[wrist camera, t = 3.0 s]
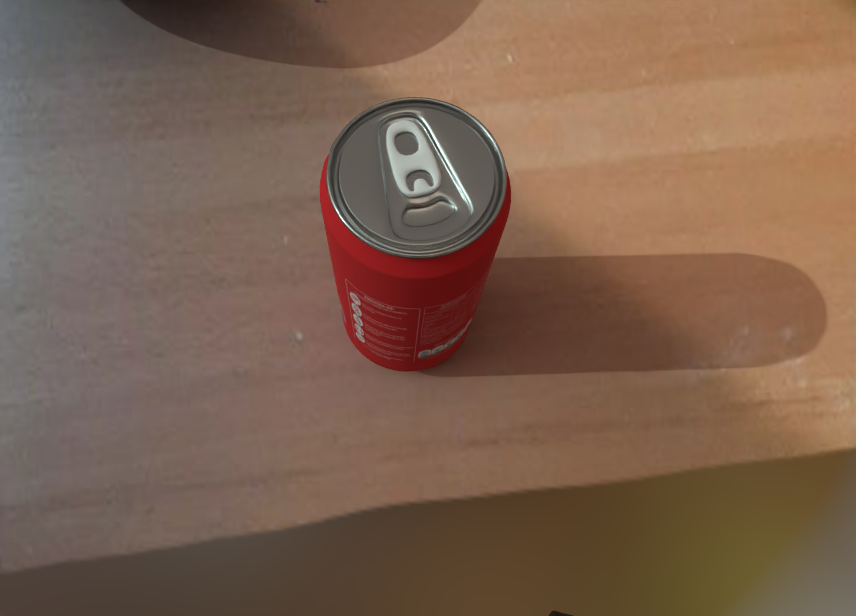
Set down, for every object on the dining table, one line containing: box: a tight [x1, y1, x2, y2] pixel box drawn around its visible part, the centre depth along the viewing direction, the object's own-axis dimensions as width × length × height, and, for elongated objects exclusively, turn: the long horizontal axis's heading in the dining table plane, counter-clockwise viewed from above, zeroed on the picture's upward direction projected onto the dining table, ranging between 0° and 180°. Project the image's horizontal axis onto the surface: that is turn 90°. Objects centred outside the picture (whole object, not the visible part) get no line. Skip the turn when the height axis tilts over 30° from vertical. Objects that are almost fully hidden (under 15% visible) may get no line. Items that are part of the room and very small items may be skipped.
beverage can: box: [320, 97, 511, 371], centre depth 25 cm, size 5×5×12 cm
